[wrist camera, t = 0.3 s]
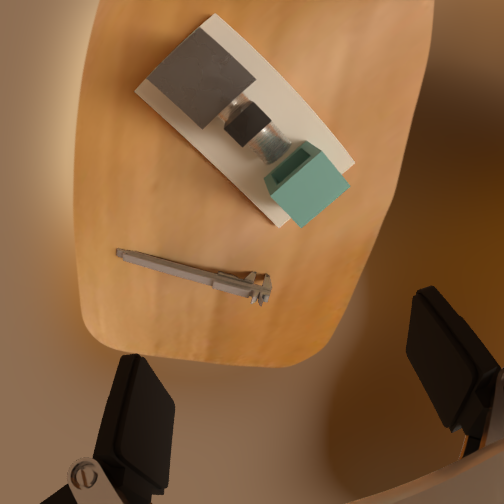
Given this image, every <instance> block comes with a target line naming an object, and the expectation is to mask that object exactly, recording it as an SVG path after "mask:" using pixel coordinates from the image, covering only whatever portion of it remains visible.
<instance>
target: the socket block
mask: <svg viewBox="0 0 504 504" xmlns="http://www.w3.org/2000/svg"><path fill="white" fill-rule="evenodd" d="M264 181H265V184H266V186H267V189H268V192H269V194H270V196H271V197H272V199H273V200H274V201H275V202H276V203H277V204H278V205H279V206H280V207H281V208H282V209H283V210H284V211H285V212H286V213H287V214H288V215H289V216H290V217H291V218H292V219H293V220H294V221H295V222H296V223H297V224H298V225H299V227H300V228H302V227H303V226H305V225H306V224H307V223H308V222H309V221H310V220H312V219H313V218H314V217H315V216H316V215H318V214H319V213H320V212H321V211H322V210H323V209H325V208H326V207H327V206H328V205H329V204H331V203H332V202H333V201H334V200H335V199H336V198H338V197H339V196H340V195H341V194H342V193H343V192H345V191H346V190H347V189H348V188H349V187H350V185H349V184H348V182H347V181H346V180H345V179H344V177H343V176H342V175H341V173H340V172H339V171H338V170H337V169H336V167H335V166H334V165H333V164H332V162H331V161H330V160H329V159H328V158H327V156H326V155H325V154H324V153H323V152H322V151H321V150H320V149H318V148H317V147H315V146H314V145H312V144H311V143H309V142H308V141H305V142H304V143H303V144H302V145H301V146H300V147H298V148H297V149H296V150H295V151H294V152H293V153H292V154H290V155H289V156H288V157H287V158H286V159H285V160H284V161H282V162H281V163H280V164H279V165H278V166H277V167H276V168H275V169H273V170H272V171H271V172H270V173H269V174H268V175H267V176H266V177H264Z"/></svg>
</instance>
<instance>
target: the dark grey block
mask: <svg viewBox="0 0 504 504" xmlns="http://www.w3.org/2000/svg"><path fill="white" fill-rule="evenodd" d="M146 79H147V80H149V81H150V82H151V83H152V84H153V85H154V86H155V87H157V88H158V89H159V90H160V91H161V92H162V93H163V94H164V95H165V96H167V97H168V98H169V99H170V100H171V101H172V102H173V103H174V104H175V105H176V106H178V107H179V108H180V109H181V110H182V111H183V112H184V113H185V114H186V115H187V116H188V117H189V118H191V119H192V120H193V121H194V122H195V123H196V124H197V125H198V126H199V127H200V128H201V129H202V130H203V129H204V128H205V127H206V126H207V125H208V124H209V123H210V122H211V121H212V120H213V119H214V118H215V117H216V116H217V115H218V114H219V113H220V112H221V111H222V110H223V109H224V108H225V107H227V106H228V105H229V104H230V103H231V102H232V101H233V100H234V99H235V98H236V97H237V96H239V95H240V94H241V93H242V92H243V91H244V90H245V89H246V88H248V87H249V86H250V85H251V84H252V83H253V82H254V81H256V80H257V79H256V78H255V77H254V76H252V75H251V74H250V73H249V72H248V71H247V70H246V69H245V68H244V67H243V66H242V65H241V64H240V63H239V62H238V61H237V60H236V59H235V58H234V57H233V56H232V55H231V54H230V53H228V52H227V51H226V50H225V49H224V48H223V47H222V46H221V45H220V44H219V43H217V42H216V41H215V40H214V39H213V38H212V37H211V36H210V35H208V34H207V33H206V32H205V31H204V30H203V29H201V28H200V27H199V28H198V29H196V30H195V31H194V32H193V33H192V34H191V35H190V36H189V37H187V38H186V39H185V40H184V41H183V42H182V43H181V44H180V45H179V46H178V47H177V48H176V49H175V50H174V51H173V52H172V53H171V54H169V55H168V56H167V57H166V58H165V59H164V60H163V61H162V62H161V63H160V64H159V65H158V67H157V68H156V69H155V70H154V71H153V72H152V73H151V74H150V75H149V76H148V77H147V78H146Z"/></svg>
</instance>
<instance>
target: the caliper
mask: <svg viewBox="0 0 504 504" xmlns="http://www.w3.org/2000/svg"><path fill="white" fill-rule="evenodd" d="M117 256H118V257H121V258H123V261H127V262H130V263H133V264H137V265H140V266H143V267H147V268H150V269H153V270H157V271H160V272H164V273H167V274H171V275H174V276H178V277H181V278H185V279H188V280H192V281H195V282H199V283H203V284H206V285H210V286H212V288H213V289H217V290H221V291H224V292H228V293H232V294H235V295H239V296H243V297H246V298H249V296H252V300H251V304H253V303H254V302H256V301H257V298H258V303H259V305H260V306H262V303H263V301H264V302H268V299H269V296H270V293H271V289H272V284H271V279H270V276H269V275H268V274H266V275H265V278H264V282H263V285H262V286H260V285H257V284H253V283H254V280H255V277H256V272H253V271H252V272H251V273H250V274H249V275H248V276H247V277H246V278H245V279H240V278H238V277H236V276H234V275H232V274H226V273H224V272H221V271H218V273H217V274H215V273H212V272H208V271H204V270H201V269H197V268H193V267H189V266H186V265H182V264H179V263H175V262H171V261H168V260H164V259H161V258H157V257H154V256H150V255H147V254H144V253H140V252H136V251H130V250H122V249H119V248H117Z"/></svg>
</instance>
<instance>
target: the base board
mask: <svg viewBox="0 0 504 504" xmlns="http://www.w3.org/2000/svg"><path fill="white" fill-rule="evenodd" d="M199 27H200V28H201V29H203V30H204V31H205V32H206V33H207V34H208V35H210V36H211V37H212V38H213V39H214V40H215V41H216V42H217V43H219V44H220V45H221V46H222V47H223V48H224V49H225V50H226V51H227V52H228V53H230V54H231V55H232V56H233V57H234V58H235V59H236V60H237V61H238V62H239V63H240V64H241V65H242V66H243V67H244V68H245V69H246V70H247V71H248V72H249V73H250V74H251V75H252V76H254V77H255V78H256V79H257V80H256V81H254V82H253V83H252V84H251V85H250V86H249V87H248V88H246V89H245V90H244V91H243V93H244V94H246V95H247V96H248V97H249V98H250V99H251V100H252V101H253V102H254V103H255V104H256V105H257V106H258V107H259V108H260V109H261V110H262V111H263V112H264V113H265V114H266V115H267V116H268V117H269V118H270V119H271V120H272V122H273V123H274V124H275V125H276V126H277V127H278V128H279V130H280V131H281V132H282V133H283V134H284V135H285V136H286V137H287V138H288V139H289V140H290V141H291V143H292V144H291V146H290V148H289V149H288V151H287V152H286V153H285V154H284V155H283V156H282V157H280V158H279V159H278V160H277V161H275V162H274V163H272V164H270V165H266V164H265V163H264V162H263V161H262V160H261V159H260V158H259V157H258V156H257V155H256V154H255V153H254V152H253V151H252V150H251V149H250V148H249V147H248V146H247V145H245V146H244V147H243V148H242V147H241V146H240V145H239V144H238V143H237V142H236V141H235V140H234V139H233V138H232V137H231V136H230V135H229V134H228V133H227V132H226V131H225V130H224V124H225V123H224V122H223V121H222V120H221V119H220V118H219V117H218V116H216V117H215V118H214V119H213V120H212V121H211V122H210V123H209V124H208V125H207V126H206V127H205V128H204V129H203V130H202V129H201V128H200V127H199V126H198V125H197V124H196V123H195V122H194V121H193V120H192V119H191V118H189V117H188V116H187V115H186V114H185V113H184V112H183V111H182V110H181V109H180V108H179V107H178V106H176V105H175V104H174V103H173V102H172V101H171V100H170V99H169V98H168V97H167V96H165V95H164V94H163V93H162V92H161V91H160V90H159V89H158V88H157V87H155V86H154V85H153V84H152V83H151V82H150V81H149V80H147V79H145V80H144V81H143V82H142V83H141V84H140V85H139V86H138V87H137V89H136V90H135V91H134V92H135V93H136V94H137V95H138V96H140V97H141V98H142V99H143V100H144V101H145V102H146V103H147V104H148V105H150V106H151V107H152V108H153V109H154V110H155V111H156V112H157V113H158V114H160V115H161V116H162V117H163V118H164V119H165V120H166V121H167V122H168V123H169V124H170V125H172V126H173V127H174V128H175V129H176V130H177V131H178V132H179V133H180V134H181V135H182V136H184V137H185V138H186V139H187V140H188V141H189V142H190V143H191V144H192V145H193V146H194V147H195V148H196V149H197V150H199V151H200V152H201V153H202V154H203V155H204V156H205V157H206V158H207V159H208V160H209V161H210V162H211V163H212V164H213V165H214V166H215V167H217V168H218V169H219V170H220V171H221V172H222V173H223V174H224V175H225V176H226V177H227V178H228V179H229V180H230V181H231V182H232V183H233V184H234V185H235V186H236V187H237V188H238V189H239V190H240V191H242V192H243V193H244V194H245V195H246V196H247V197H248V198H249V199H250V200H251V201H252V202H253V203H254V204H255V205H256V206H257V207H258V208H259V209H260V210H261V211H262V212H263V213H264V214H265V215H266V216H267V217H268V218H269V219H270V220H271V221H272V222H273V223H274V224H275V225H276V226H277V227H278V228H280V227H281V226H282V225H283V224H285V223H286V222H287V221H288V220H289V219H290V218H291V217H290V216H289V215H288V214H287V213H286V212H285V211H284V210H283V209H282V208H281V207H280V206H279V205H278V204H277V203H276V202H275V201H274V200H273V199H272V197H271V196H270V194H269V192H268V189H267V186H266V184H265V181H264V177H266V176H267V175H268V174H269V173H270V172H271V171H272V170H273V169H275V168H276V167H277V166H278V165H279V164H280V163H281V162H282V161H284V160H285V159H286V158H287V157H288V156H289V155H290V154H292V153H293V152H294V151H295V150H296V149H297V148H298V147H300V146H301V145H302V144H303V143H304V142H305V141H308V142H309V143H311V144H312V145H314V146H315V147H317V148H318V149H320V150H321V151H322V152H323V153H324V154H325V155H326V156H327V158H328V159H329V160H330V161H331V162H332V164H333V165H334V166H335V167H336V169H337V170H338V171H339V172H340V173H341V175H342V174H343V173H344V172H345V171H346V170H348V169H349V168H350V167H351V166H352V165H353V164H355V161H354V160H353V159H352V157H351V156H350V155H349V154H348V152H347V151H346V150H345V148H344V147H343V146H342V145H341V143H340V142H339V141H338V140H337V138H336V137H335V136H334V135H333V133H332V132H331V131H330V130H329V129H328V127H327V126H326V125H325V124H324V123H323V121H322V120H321V119H320V118H319V117H318V116H317V114H316V113H315V112H314V111H313V110H312V109H311V107H310V106H309V105H308V104H307V103H306V102H305V101H304V100H303V98H302V97H301V96H300V95H299V94H298V93H297V92H296V91H295V90H294V89H293V87H292V86H291V85H290V84H289V83H288V82H287V81H286V80H285V79H284V78H283V77H282V76H281V75H280V74H279V73H278V72H277V71H276V70H275V69H274V68H273V67H272V66H271V65H270V63H269V62H268V61H267V60H265V59H264V58H263V57H262V56H261V55H260V54H259V53H258V52H257V51H256V50H255V49H254V48H253V47H252V46H251V45H250V44H249V43H248V42H247V41H246V40H245V39H244V38H243V37H241V36H240V35H239V34H238V33H237V32H236V31H235V30H234V29H233V28H232V27H230V26H229V25H228V24H227V23H226V22H225V21H224V20H222V19H221V18H220V17H219V16H218V15H217V14H214V15H212V16H211V17H210V18H209V19H207V20H206V21H205V22H204V23H203V24H202V25H200V26H199ZM199 27H198V28H199ZM198 28H197V29H198ZM191 34H192V33H191ZM191 34H190V35H191ZM190 35H189V36H190ZM189 36H188V37H189ZM180 44H181V43H180ZM180 44H179V45H180ZM179 45H178V46H179ZM178 46H177V47H178ZM177 47H176V48H177ZM176 48H175V49H176ZM175 49H174V50H175ZM174 50H173V51H174ZM173 51H172V52H173ZM172 52H171V53H172ZM171 53H170V54H171ZM157 67H158V66H157ZM157 67H156V68H157ZM156 68H155V69H156ZM155 69H154V70H155ZM154 70H153V71H154ZM153 71H152V72H153ZM152 72H151V73H152ZM151 73H150V74H151ZM150 74H149V75H150ZM149 75H148V76H149Z"/></svg>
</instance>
